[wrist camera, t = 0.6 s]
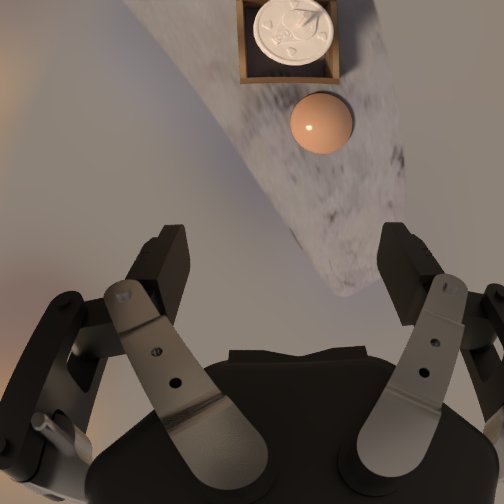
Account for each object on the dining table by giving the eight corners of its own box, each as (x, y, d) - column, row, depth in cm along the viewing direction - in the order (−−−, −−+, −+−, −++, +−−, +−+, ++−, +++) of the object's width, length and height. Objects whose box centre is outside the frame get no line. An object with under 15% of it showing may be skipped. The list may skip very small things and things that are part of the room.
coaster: (289, 92, 31) (290, 92, 30) (351, 94, 30) (353, 95, 30) (290, 152, 35) (290, 153, 34) (350, 153, 34) (351, 154, 34)
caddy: (238, 3, 25) (235, -5, 22) (328, 4, 25) (336, -4, 22) (243, 83, 30) (240, 84, 27) (331, 83, 30) (339, 84, 27)
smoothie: (327, 48, 28) (366, 33, 16) (281, 79, 30) (292, 80, 18) (290, 5, 25) (306, -36, 13) (243, 36, 28) (230, 11, 16)
